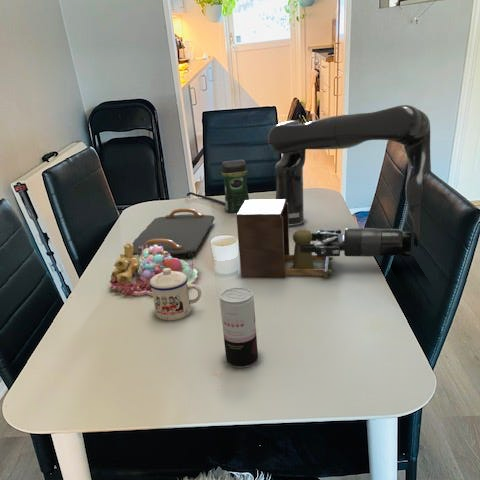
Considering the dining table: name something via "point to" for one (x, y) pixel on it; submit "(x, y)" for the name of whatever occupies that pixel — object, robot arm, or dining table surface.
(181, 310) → the teacup with lid
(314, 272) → the drawer
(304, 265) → the olive peg doll
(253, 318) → the beverage can
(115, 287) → the pastel sphere sculpture
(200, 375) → the dining table surface
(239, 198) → the coffee jar
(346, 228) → the robot arm
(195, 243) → the serving tray
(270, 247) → the cabinet
